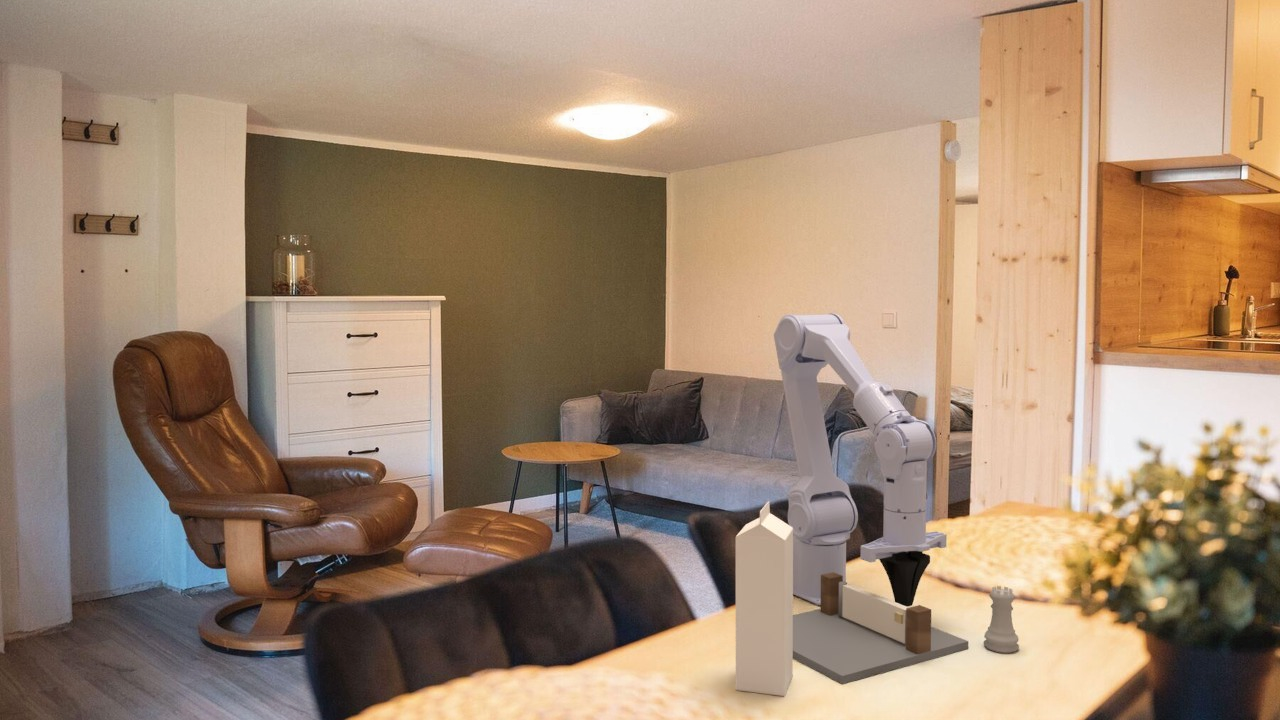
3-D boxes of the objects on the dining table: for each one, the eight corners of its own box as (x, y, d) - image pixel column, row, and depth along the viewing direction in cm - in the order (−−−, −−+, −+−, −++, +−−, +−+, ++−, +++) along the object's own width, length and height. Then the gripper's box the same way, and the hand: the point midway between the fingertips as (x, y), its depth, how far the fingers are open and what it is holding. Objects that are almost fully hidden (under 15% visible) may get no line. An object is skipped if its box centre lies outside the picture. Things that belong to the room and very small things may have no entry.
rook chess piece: (1022, 655, 124) (1023, 595, 124) (986, 653, 125) (987, 593, 125) (1015, 642, 129) (1017, 584, 128) (980, 640, 130) (982, 583, 129)
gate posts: (820, 611, 138) (820, 574, 138) (833, 608, 140) (833, 572, 139) (917, 654, 122) (917, 612, 122) (930, 650, 123) (931, 609, 123)
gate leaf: (835, 615, 136) (835, 582, 136) (844, 613, 137) (844, 580, 137) (903, 645, 125) (903, 609, 124) (912, 642, 126) (913, 607, 125)
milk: (735, 691, 114) (733, 510, 112) (745, 671, 120) (744, 499, 118) (786, 696, 112) (785, 513, 111) (794, 676, 118) (793, 501, 116)
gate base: (745, 632, 133) (744, 625, 133) (863, 605, 144) (863, 599, 144) (842, 683, 116) (842, 676, 116) (968, 648, 127) (968, 641, 127)
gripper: (887, 521, 125) (886, 622, 126) (964, 507, 132) (962, 603, 133) (850, 510, 131) (849, 607, 132) (925, 498, 138) (924, 589, 139)
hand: (903, 604), depth 133 cm, fingers closed
